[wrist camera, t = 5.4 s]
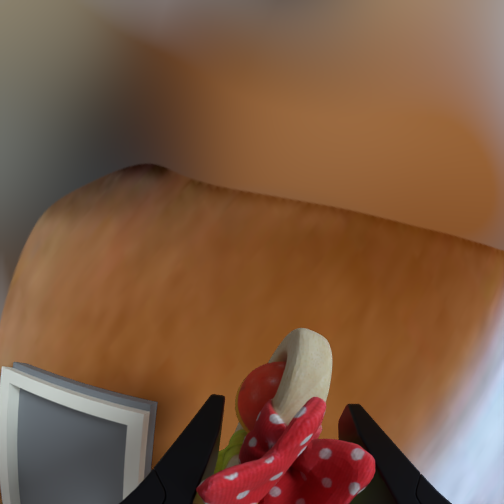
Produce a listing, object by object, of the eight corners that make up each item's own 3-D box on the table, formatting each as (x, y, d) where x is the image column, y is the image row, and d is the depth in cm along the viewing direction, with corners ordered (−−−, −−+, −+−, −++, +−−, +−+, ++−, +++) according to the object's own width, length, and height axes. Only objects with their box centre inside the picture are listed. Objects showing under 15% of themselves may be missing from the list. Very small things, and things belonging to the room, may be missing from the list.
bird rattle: (219, 367, 18) (160, 504, 11) (231, 215, 10) (77, 494, 4) (320, 397, 17) (280, 540, 10) (412, 268, 9) (388, 574, 3)
